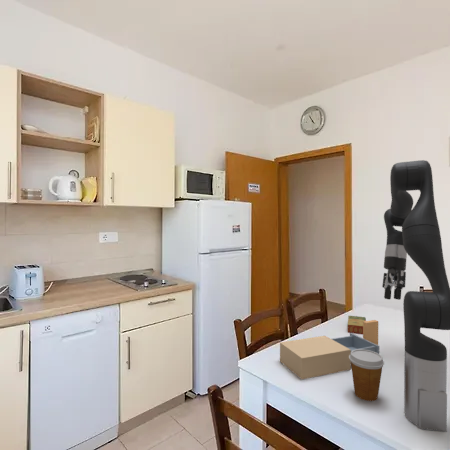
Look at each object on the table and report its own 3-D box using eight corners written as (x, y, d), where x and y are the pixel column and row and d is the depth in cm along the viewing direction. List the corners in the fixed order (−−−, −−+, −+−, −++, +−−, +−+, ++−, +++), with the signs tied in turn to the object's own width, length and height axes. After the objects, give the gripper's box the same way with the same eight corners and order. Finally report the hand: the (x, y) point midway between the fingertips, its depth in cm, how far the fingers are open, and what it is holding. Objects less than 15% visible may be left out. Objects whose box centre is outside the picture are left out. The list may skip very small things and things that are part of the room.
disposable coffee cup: (354, 383, 98) (354, 346, 97) (387, 394, 92) (387, 354, 91) (344, 396, 90) (344, 356, 90) (379, 409, 84) (379, 365, 84)
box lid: (301, 379, 100) (301, 358, 100) (279, 361, 113) (280, 342, 113) (350, 369, 107) (350, 349, 107) (324, 353, 120) (324, 335, 120)
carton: (347, 333, 143) (347, 324, 143) (347, 323, 158) (347, 314, 158) (366, 335, 140) (366, 326, 140) (365, 325, 154) (365, 316, 154)
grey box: (334, 371, 104) (335, 334, 104) (310, 354, 118) (310, 322, 117) (391, 359, 113) (392, 326, 113) (362, 345, 126) (363, 315, 126)
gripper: (378, 258, 127) (374, 297, 124) (393, 253, 114) (389, 297, 110) (397, 261, 126) (394, 301, 123) (414, 257, 113) (411, 301, 109)
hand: (392, 299), depth 117 cm, fingers open, 8 cm apart
